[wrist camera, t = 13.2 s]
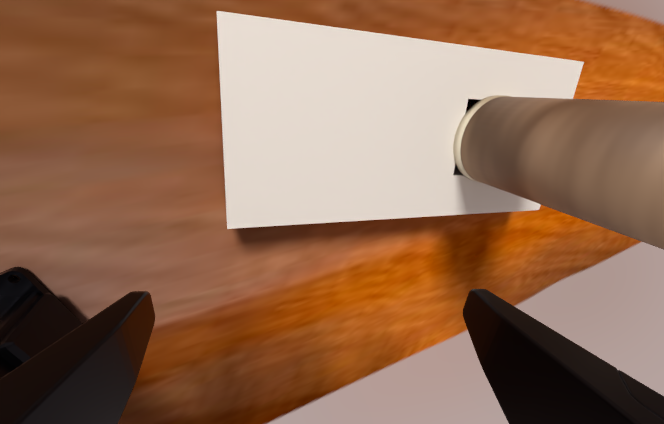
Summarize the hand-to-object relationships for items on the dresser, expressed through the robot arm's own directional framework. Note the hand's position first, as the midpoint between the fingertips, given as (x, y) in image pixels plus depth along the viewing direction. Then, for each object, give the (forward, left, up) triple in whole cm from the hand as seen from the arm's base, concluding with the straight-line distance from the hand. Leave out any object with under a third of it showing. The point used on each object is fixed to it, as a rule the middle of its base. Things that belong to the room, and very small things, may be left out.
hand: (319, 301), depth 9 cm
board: (+9, -1, -12) cm, 15 cm away
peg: (+14, -3, -12) cm, 18 cm away
